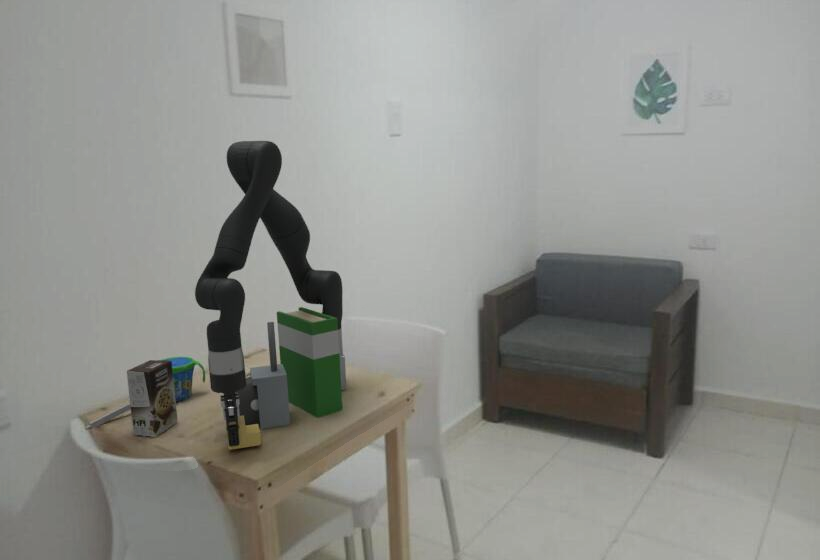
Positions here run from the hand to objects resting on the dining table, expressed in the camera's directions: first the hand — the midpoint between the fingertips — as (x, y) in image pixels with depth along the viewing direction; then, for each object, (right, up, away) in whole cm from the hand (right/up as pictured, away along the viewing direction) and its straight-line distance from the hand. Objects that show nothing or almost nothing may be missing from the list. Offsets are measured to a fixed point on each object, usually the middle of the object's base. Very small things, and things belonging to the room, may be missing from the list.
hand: (233, 439), depth 148 cm
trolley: (+3, +1, +14) cm, 15 cm away
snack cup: (-24, +3, +33) cm, 41 cm away
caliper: (-33, 0, +21) cm, 39 cm away
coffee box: (-22, -1, +12) cm, 25 cm away
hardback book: (+14, +3, +25) cm, 29 cm away
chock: (+2, -1, +1) cm, 2 cm away
